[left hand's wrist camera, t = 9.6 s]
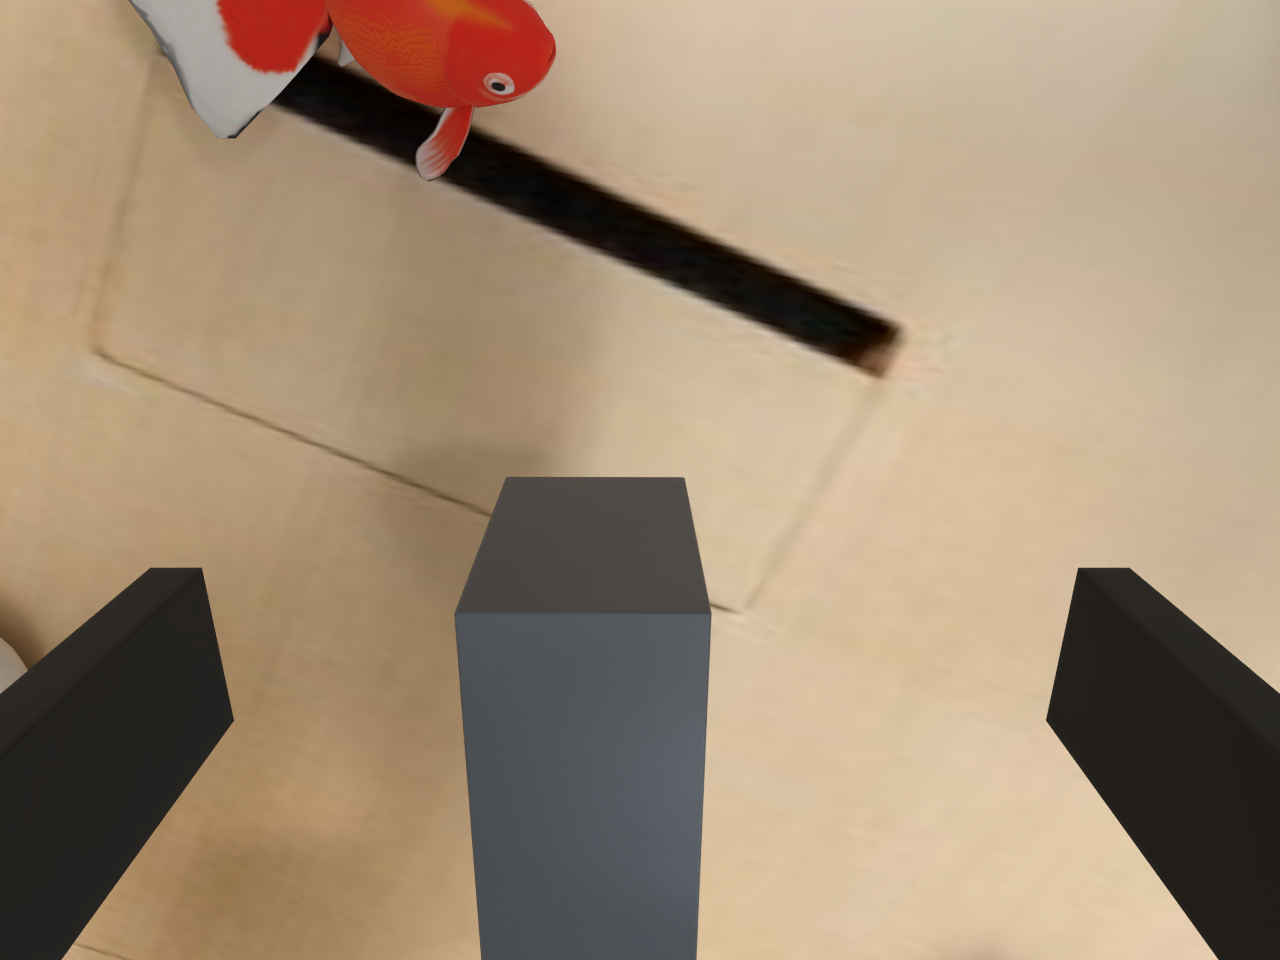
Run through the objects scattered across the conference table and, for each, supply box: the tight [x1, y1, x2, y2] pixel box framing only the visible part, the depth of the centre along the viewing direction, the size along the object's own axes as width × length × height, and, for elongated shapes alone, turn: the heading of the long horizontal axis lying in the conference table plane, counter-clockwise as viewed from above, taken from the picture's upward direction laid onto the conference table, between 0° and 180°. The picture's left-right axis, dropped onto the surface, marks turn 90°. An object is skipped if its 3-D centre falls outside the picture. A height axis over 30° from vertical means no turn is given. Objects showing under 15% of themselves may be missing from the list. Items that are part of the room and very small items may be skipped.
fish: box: [129, 0, 556, 181], centre depth 29 cm, size 11×16×10 cm
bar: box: [455, 477, 711, 960], centre depth 27 cm, size 23×6×9 cm, turn 179°
